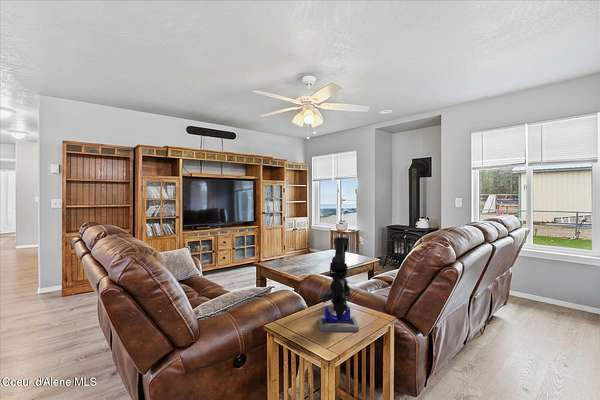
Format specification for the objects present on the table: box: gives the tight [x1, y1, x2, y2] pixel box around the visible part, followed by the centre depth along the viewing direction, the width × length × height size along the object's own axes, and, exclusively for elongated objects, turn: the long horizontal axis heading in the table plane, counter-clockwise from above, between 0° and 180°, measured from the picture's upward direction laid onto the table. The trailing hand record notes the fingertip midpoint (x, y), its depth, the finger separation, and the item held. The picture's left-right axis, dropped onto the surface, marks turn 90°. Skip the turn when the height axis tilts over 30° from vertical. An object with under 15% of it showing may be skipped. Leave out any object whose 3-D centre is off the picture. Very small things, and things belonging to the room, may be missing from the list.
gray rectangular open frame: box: [318, 315, 360, 332], centre depth 142 cm, size 12×18×2 cm, turn 89°
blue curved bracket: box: [324, 305, 351, 324], centre depth 142 cm, size 12×4×6 cm, turn 86°
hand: (338, 318), depth 142 cm, fingers closed on blue curved bracket, 4 cm apart
